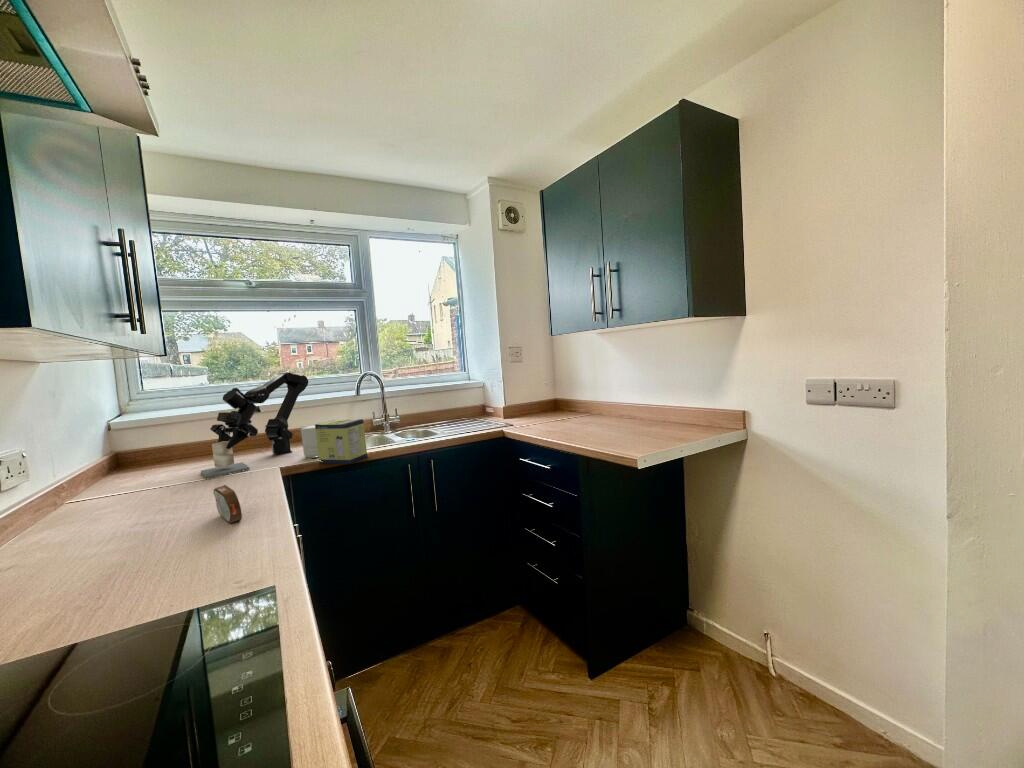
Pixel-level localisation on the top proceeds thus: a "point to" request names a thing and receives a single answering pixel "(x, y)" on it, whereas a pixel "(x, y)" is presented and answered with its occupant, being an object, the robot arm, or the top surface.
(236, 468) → the rubber mat
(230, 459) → the cream rectangular block
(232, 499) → the tin
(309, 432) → the supplement box
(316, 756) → the top surface
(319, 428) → the protein box
